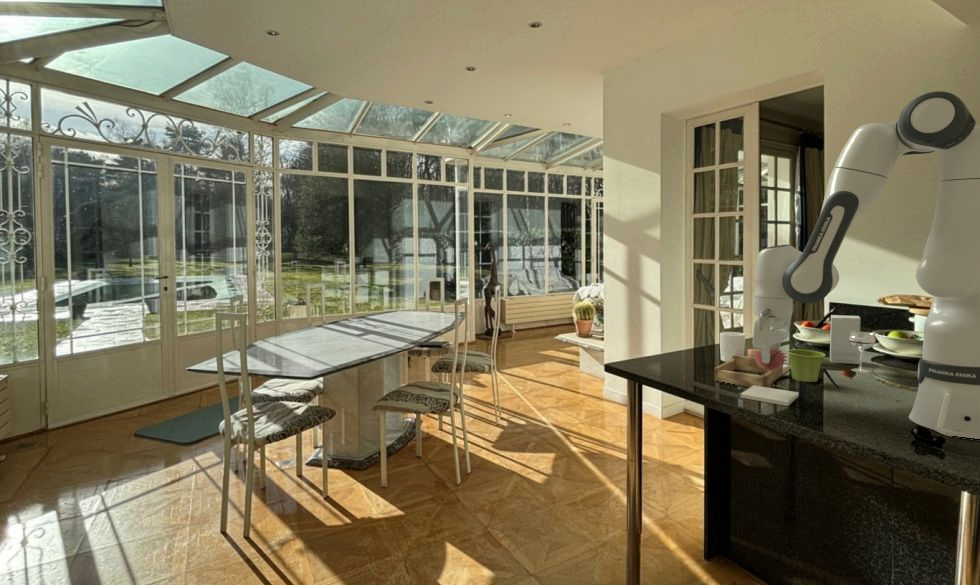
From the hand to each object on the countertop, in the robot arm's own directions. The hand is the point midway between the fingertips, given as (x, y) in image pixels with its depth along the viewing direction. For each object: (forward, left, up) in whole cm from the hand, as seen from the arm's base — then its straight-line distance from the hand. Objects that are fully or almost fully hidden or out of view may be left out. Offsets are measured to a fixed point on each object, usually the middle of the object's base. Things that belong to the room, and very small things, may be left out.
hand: (770, 360), depth 135 cm
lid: (+9, -32, -10) cm, 35 cm away
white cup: (+20, -34, -10) cm, 41 cm away
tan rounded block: (+12, -31, -9) cm, 35 cm away
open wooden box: (+9, -15, -10) cm, 20 cm away
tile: (0, 0, -10) cm, 10 cm away
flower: (0, 0, -3) cm, 3 cm away
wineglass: (-14, -48, -10) cm, 51 cm away
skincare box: (-8, -59, -10) cm, 61 cm away
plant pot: (-4, -22, -10) cm, 25 cm away
